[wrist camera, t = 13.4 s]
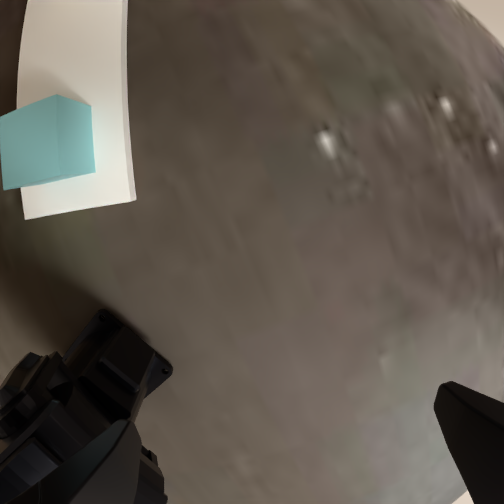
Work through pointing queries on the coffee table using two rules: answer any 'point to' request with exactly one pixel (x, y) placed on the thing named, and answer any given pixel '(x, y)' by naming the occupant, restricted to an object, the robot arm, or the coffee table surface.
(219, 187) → the coffee table surface
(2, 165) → the teal block
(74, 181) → the white base with post
